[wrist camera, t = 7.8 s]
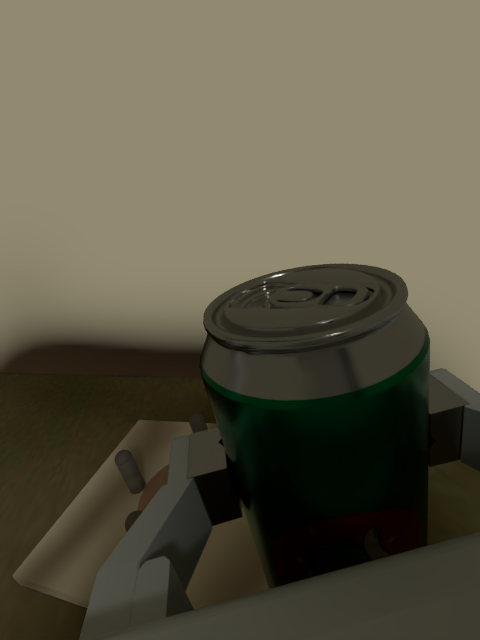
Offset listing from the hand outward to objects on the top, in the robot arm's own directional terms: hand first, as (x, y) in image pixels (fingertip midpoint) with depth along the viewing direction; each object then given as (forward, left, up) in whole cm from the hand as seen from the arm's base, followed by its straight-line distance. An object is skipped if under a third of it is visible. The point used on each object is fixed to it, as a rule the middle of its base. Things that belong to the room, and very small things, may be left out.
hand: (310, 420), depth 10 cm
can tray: (-11, +5, -13) cm, 18 cm away
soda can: (0, -1, -8) cm, 8 cm away
